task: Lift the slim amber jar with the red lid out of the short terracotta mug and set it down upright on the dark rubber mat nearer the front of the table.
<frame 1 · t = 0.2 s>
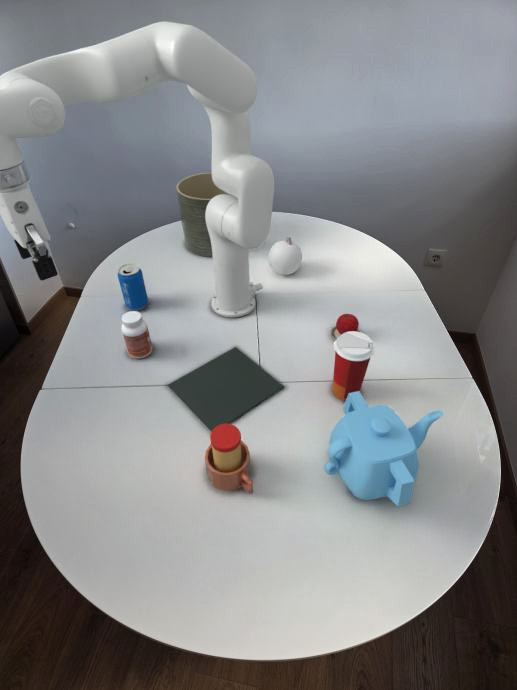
hand: (39, 266, 81), 31 cm above the table, tool pointing down, fingers open, 9 cm apart
terracotta mug: (228, 471, 83), on the table
jar: (227, 453, 79), in the terracotta mug
ornament: (284, 272, 136), on the table
coffee cup: (345, 391, 99), on the table
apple: (345, 335, 113), on the table
teapot: (374, 468, 84), on the table
pill bottle: (140, 351, 109), on the table
beverage can: (137, 305, 124), on the table
planter: (215, 242, 151), on the table
mat: (225, 386, 100), on the table
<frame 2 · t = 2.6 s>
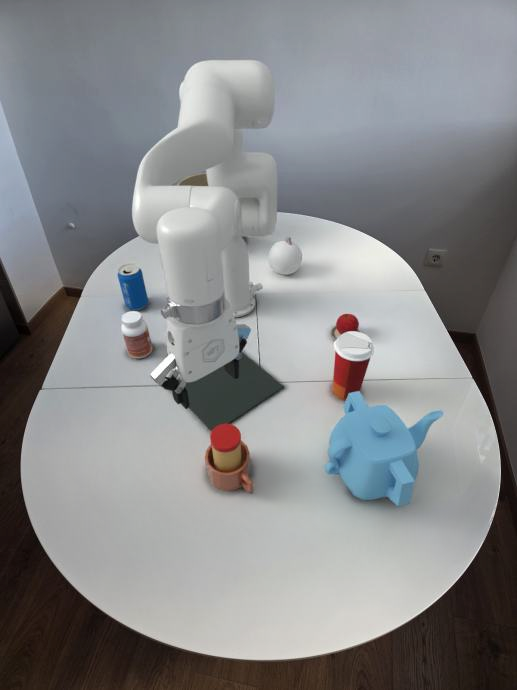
hand: (208, 388, 69), 22 cm above the table, tool pointing down, fingers open, 9 cm apart
nothing on the table moved.
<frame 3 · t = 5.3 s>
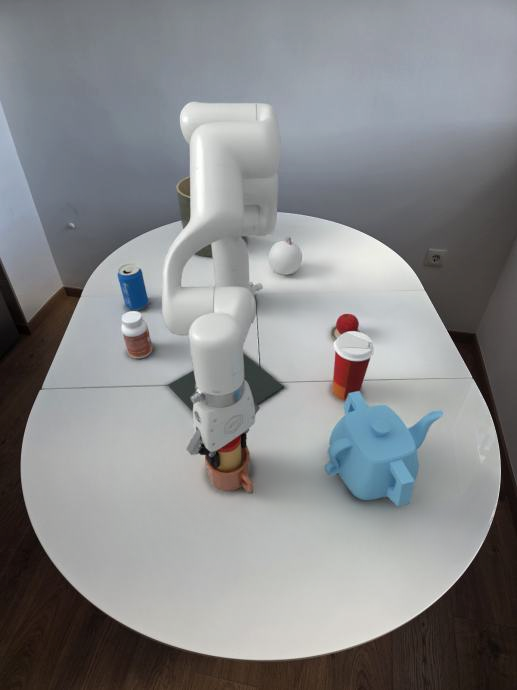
hand: (227, 451, 79), 7 cm above the table, tool pointing down, fingers closed on jar, 5 cm apart
jar: (227, 453, 79), in the terracotta mug, touching gripper
everything else where it was.
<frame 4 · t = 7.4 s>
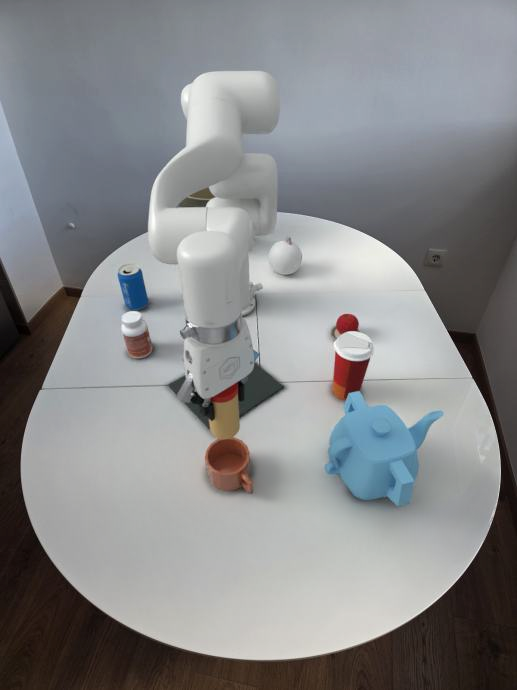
hand: (222, 404, 71), 19 cm above the table, tool pointing down, fingers closed on jar, 5 cm apart
jar: (223, 407, 72), point 18 cm above the table, touching gripper
everything else where it was.
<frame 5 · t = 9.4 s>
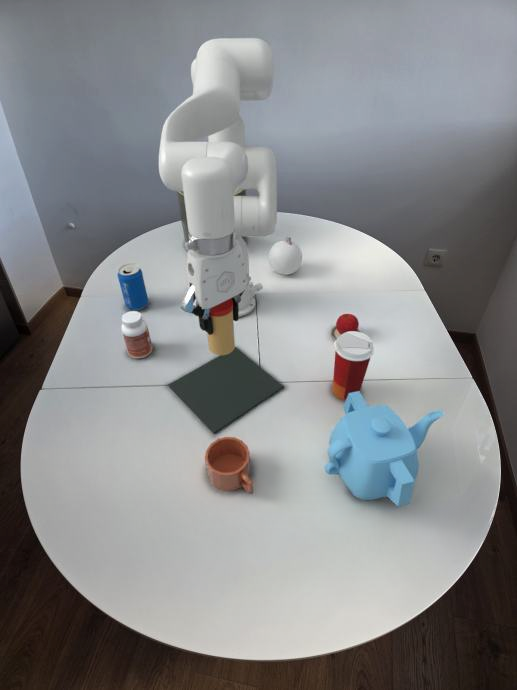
hand: (219, 323, 83), 22 cm above the table, tool pointing down, fingers closed on jar, 5 cm apart
jar: (220, 325, 83), point 21 cm above the table, touching gripper
everything else where it was.
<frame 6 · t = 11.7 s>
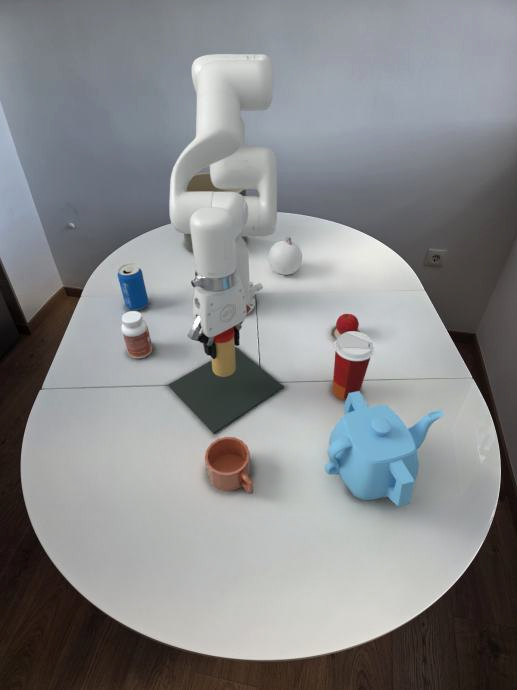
hand: (222, 348, 92), 12 cm above the table, tool pointing down, fingers closed on jar, 5 cm apart
jar: (222, 350, 92), point 12 cm above the table, touching gripper
everything else where it was.
when the fingers open (7 cm above the table, at t = 13.6 s): jar stays where it is, resting on mat.
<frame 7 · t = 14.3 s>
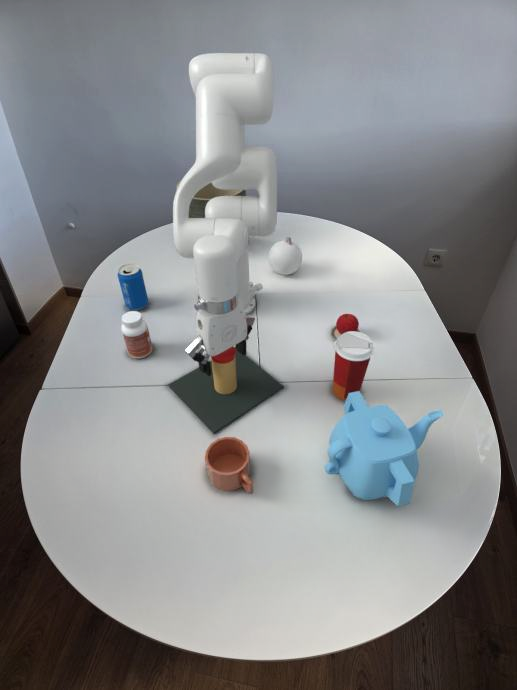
hand: (223, 361, 95), 8 cm above the table, tool pointing down, fingers open, 9 cm apart
jar: (224, 369, 96), on the mat
everything else where it was.
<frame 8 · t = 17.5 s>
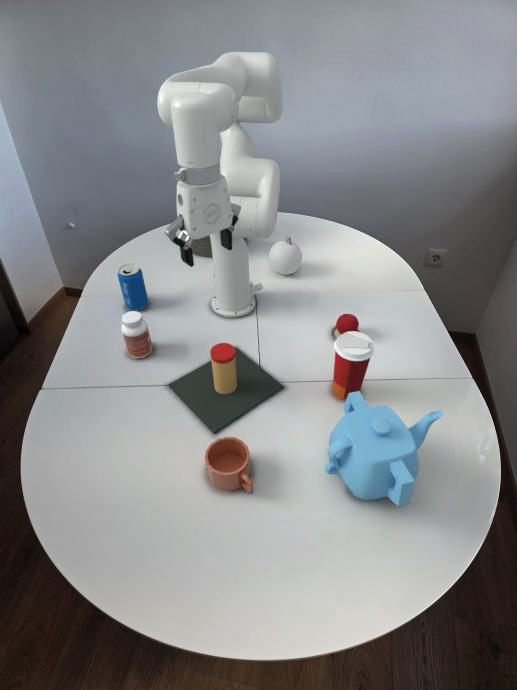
hand: (208, 255, 89), 28 cm above the table, tool pointing down, fingers open, 9 cm apart
nothing on the table moved.
at the end: jar inside the target area on the mat (0.1 cm from its centre), point 6.0 cm above the mat's base; jar tilted 0°; jar touching mat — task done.
